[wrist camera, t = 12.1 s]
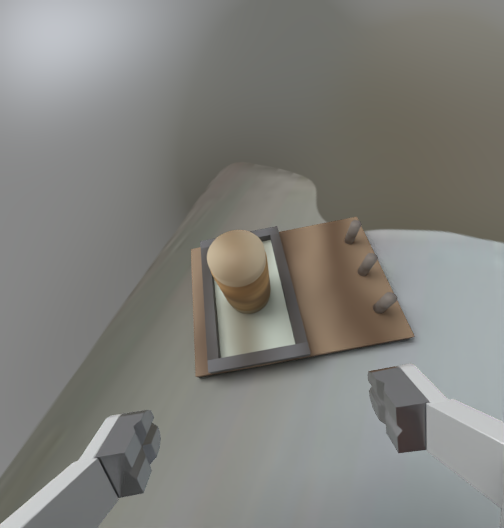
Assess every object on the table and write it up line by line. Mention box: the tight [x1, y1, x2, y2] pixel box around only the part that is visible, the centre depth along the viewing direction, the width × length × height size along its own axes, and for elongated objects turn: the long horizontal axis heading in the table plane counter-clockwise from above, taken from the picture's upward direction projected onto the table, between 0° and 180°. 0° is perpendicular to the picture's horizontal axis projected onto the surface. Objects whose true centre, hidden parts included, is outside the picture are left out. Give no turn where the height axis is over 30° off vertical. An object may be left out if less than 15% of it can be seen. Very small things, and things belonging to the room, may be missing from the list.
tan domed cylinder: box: [207, 230, 271, 314], centre depth 21 cm, size 5×5×8 cm
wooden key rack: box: [191, 217, 414, 377], centre depth 24 cm, size 20×14×4 cm
